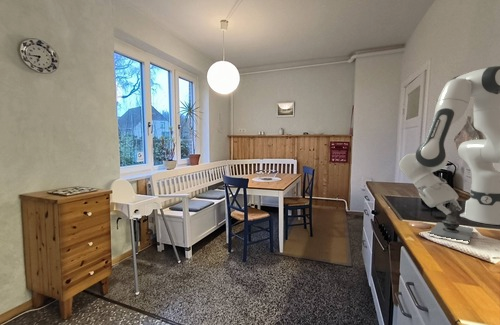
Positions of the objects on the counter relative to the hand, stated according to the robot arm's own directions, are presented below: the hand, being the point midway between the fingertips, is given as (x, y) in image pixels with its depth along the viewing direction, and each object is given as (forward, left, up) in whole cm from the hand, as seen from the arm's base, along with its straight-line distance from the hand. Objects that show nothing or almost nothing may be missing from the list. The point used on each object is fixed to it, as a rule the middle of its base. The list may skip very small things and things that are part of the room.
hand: (454, 211), depth 100 cm
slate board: (0, -1, -10) cm, 10 cm away
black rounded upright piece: (0, -1, -8) cm, 8 cm away
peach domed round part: (-3, -13, -10) cm, 16 cm away
